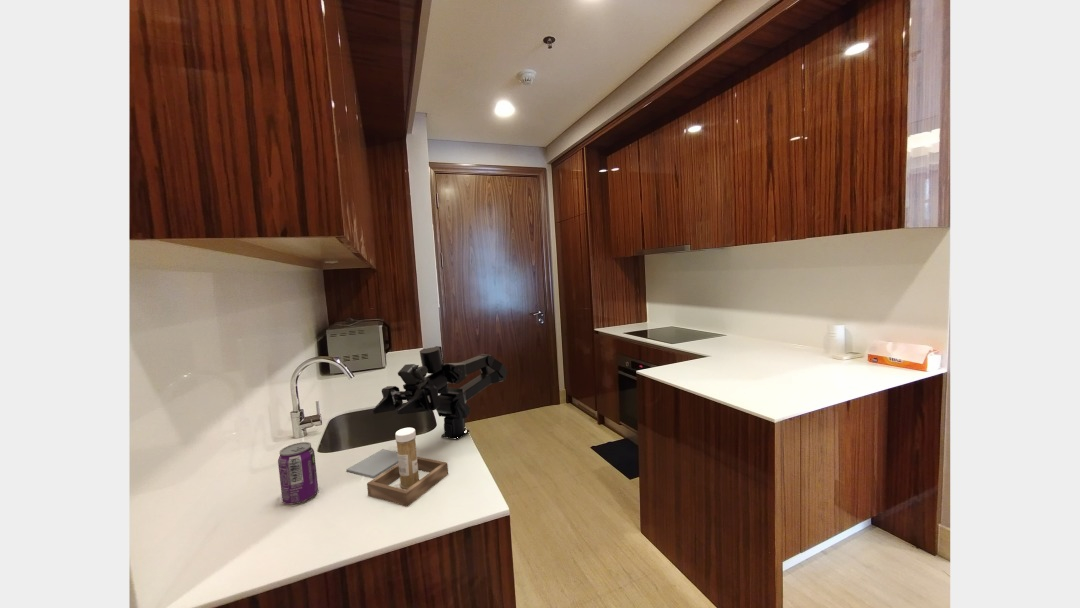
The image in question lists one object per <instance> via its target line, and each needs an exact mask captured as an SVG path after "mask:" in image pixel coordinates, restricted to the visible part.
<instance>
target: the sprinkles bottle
mask: <svg viewBox="0 0 1080 608" xmlns="http://www.w3.org/2000/svg"><path fill="white" fill-rule="evenodd" d="M416 435H417V433H416V429H415V428H414V427H404V428H400V429H399V430H397V431H396V432H395V442H396V448H397V451H396V452H398V453H397V454H398V463H397V464H398V465H399V474H400V477H399V479H400V481H399V482H400V483H399V486H400V489H404V490H407V489H408V488H410V487H411V486H412V485H414V484H415V483H416V482H418V481H419V480H420V474H419V470H418V462H417V457H418V453H417V445H416V437H417V436H416Z"/></svg>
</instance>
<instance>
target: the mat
mask: <svg viewBox="0 0 1080 608" xmlns="http://www.w3.org/2000/svg"><path fill="white" fill-rule="evenodd" d="M397 453H398V451H395V450H390V449H385V448H382V449H380V450H378V451H377V452H375V453H373V454H371V455H369V456H368V457H365V458H364V459H363V460H360V461H359V462H357V463H355V464H353V465H352V466H350V467H348V468H346V472H347V473H351V474H355V475H359V476H364V477H367V478H370V479H375V478H376V477H378V476H379V475H381V474H382V473H384V472H386V471H387V470H389V469H390V468H392V467H393V466H395V465H397V464H398V454H397Z"/></svg>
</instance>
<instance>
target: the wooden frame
mask: <svg viewBox="0 0 1080 608" xmlns="http://www.w3.org/2000/svg"><path fill="white" fill-rule="evenodd" d="M417 462H418V471H421V470H422V472H425V471H426V472H425V473H428V474H426V475H425V476H423V477H422V478H419V481H418V482H416V483H415V484H414V485H412V486H411V487H410V488H408V489H403V488H401V487H400V488H399V487H395V486H391V485H390V484H392V483H393V482H394V481H396V480H398V479H400V474H399V465H398V463H397V464H396V465H394V466H393V467H391V468H389V469H388V470H386V471H385V472H383V473H382V474H380V475H378V476H377V477H375V478H372V479H371V480H369V481H368V482H367V483H366V488H367V496H368V497H372V498H376V499H378V500H383V501H387V502H390V503H393V504H395V505H396V504H397V505H401V506H402V507H403V506H404V507H409V506H410V505H411V504H413V503H414V502H416V501H417V500H418V499H419V498H420V497H422V495H424V494H425V493H427V492H428V491H430V489H432V488H433V487H434V486H435V485H437V484H438V483H439V482H440V481H441V480H442V479H444V478H445V477H447V476H448V475H449V466H448V465H449V464H448V462H446V461H441V460H436V459H431V458H426V457H421V456H417Z"/></svg>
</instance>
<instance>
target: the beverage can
mask: <svg viewBox="0 0 1080 608" xmlns="http://www.w3.org/2000/svg"><path fill="white" fill-rule="evenodd" d="M315 455H316V454H315V450H314V448H313V447H312V443H311V442H308V441H301V442H296V443H293V444H290V445H288V446H285V447H283V448H282V449H280V451H279V457H278V460H277V465H278V475H279V484H280V490H281V491H280V492H281V500H282V501H281V502H283V503H284V504H288V505H289V504H290V505H291V504H292V505H296V504H300V503H303V502H306V501H308V500H309V499H311V498H312V497H313V496H315V495H316V494H317V493H318V491H319V484H318V474H317V465H316V456H315Z"/></svg>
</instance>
